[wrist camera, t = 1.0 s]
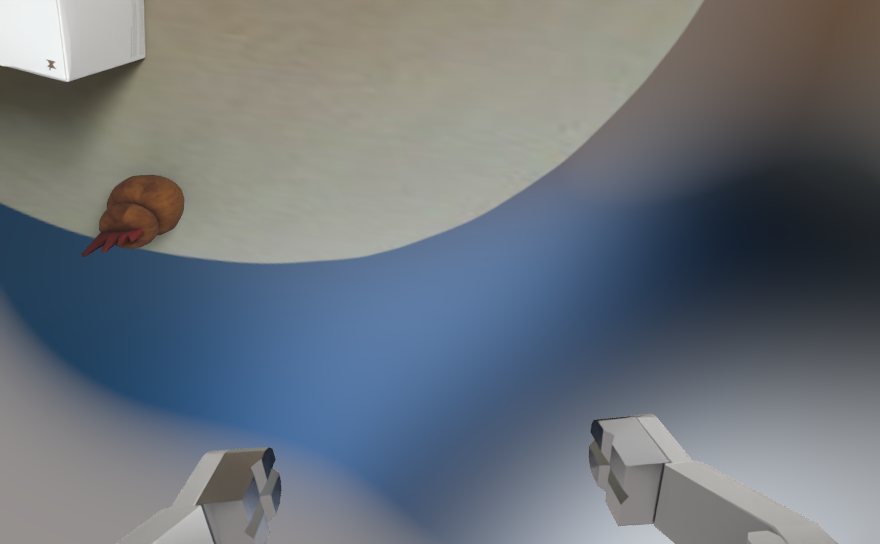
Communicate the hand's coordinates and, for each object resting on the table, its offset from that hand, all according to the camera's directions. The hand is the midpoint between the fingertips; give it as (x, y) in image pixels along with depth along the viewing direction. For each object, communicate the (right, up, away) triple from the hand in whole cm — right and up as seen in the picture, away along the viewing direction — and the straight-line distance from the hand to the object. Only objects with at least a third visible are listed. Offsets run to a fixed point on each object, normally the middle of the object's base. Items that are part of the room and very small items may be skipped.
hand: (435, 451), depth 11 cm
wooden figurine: (-35, +15, +41) cm, 56 cm away
